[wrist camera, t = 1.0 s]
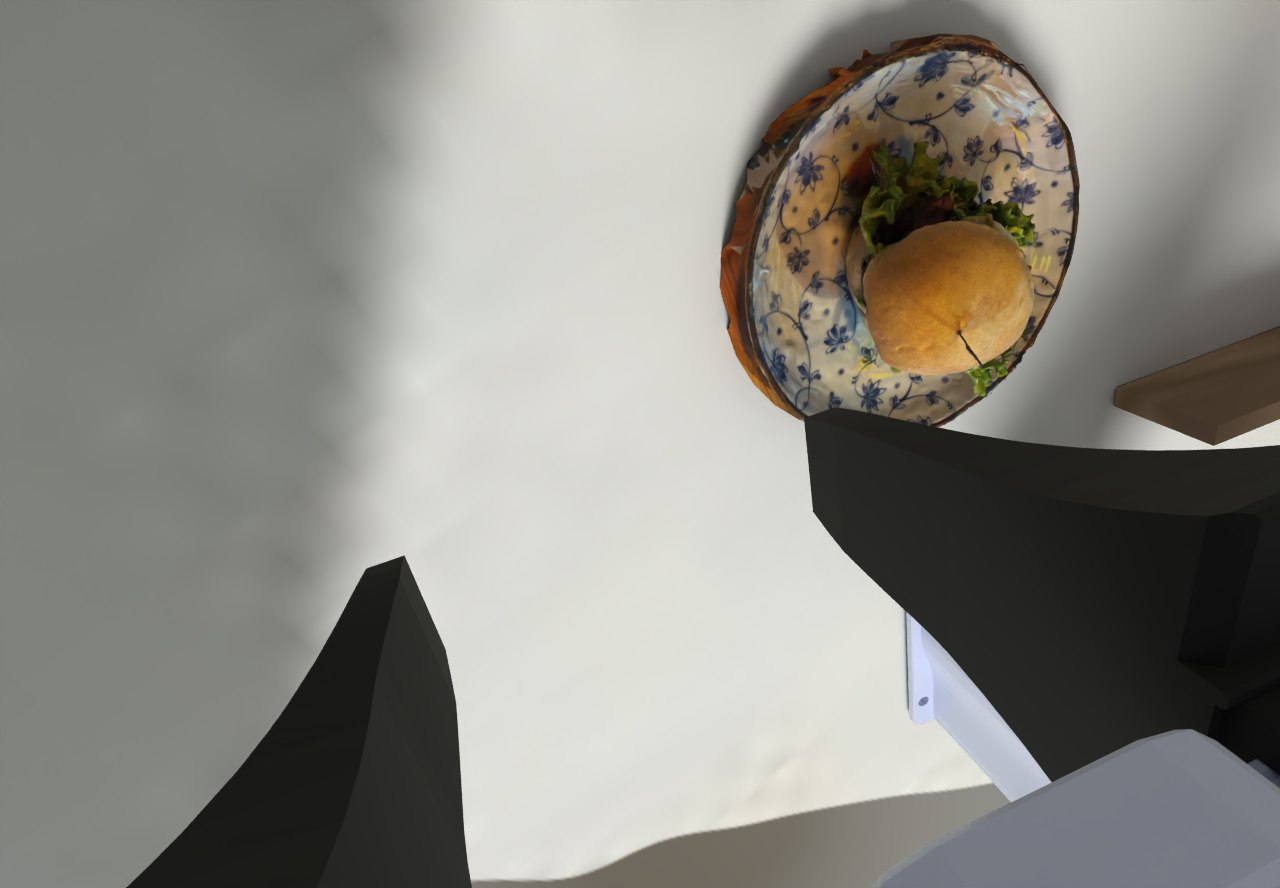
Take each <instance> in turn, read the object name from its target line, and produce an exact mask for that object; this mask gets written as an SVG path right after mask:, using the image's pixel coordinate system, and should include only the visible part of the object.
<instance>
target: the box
mask: <svg viewBox="0 0 1280 888" xmlns="http://www.w3.org/2000/svg"><path fill="white" fill-rule="evenodd" d="M1114 406H1115V407H1118V408H1120V409H1123V410H1125V411H1128V412H1130V413H1133V414H1135V415H1138V416H1140V417H1143V418H1145V419H1148V420H1150V421H1153V422H1155V423H1158V424H1160V425H1163V426H1165V427H1168V428H1170V429H1173V430H1175V431H1178V432H1180V433H1183V434H1185V435H1188V436H1190V437H1193V438H1195V439H1198V440H1200V441H1203V442H1205V443H1208V444H1210V445H1213V446H1214V445H1217V444H1219V443H1222V442H1224V441H1227V440H1229V439H1232V438H1234V437H1237V436H1239V435H1241V434H1244V433H1246V432H1249V431H1251V430H1254V429H1256V428H1259V427H1261V426H1264V425H1266V424H1269V423H1271V422H1274V421H1276V420H1278V419H1280V327H1278V328H1275V329H1272V330H1270V331H1267V332H1264V333H1262V334H1259V335H1256V336H1254V337H1251V338H1248V339H1246V340H1243V341H1240V342H1238V343H1235V344H1232V345H1230V346H1227V347H1224V348H1221V349H1219V350H1216V351H1213V352H1211V353H1208V354H1205V355H1203V356H1200V357H1197V358H1195V359H1192V360H1189V361H1187V362H1184V363H1181V364H1179V365H1176V366H1173V367H1171V368H1168V369H1165V370H1162V371H1160V372H1157V373H1154V374H1152V375H1149V376H1146V377H1144V378H1141V379H1138V380H1136V381H1133V382H1130V383H1128V384H1125V385H1122V386H1120V387H1117V388H1116V391H1115V399H1114Z"/></svg>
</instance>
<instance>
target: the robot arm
mask: <svg viewBox="0 0 1280 888" xmlns="http://www.w3.org/2000/svg"><path fill="white" fill-rule="evenodd" d="M804 422H805V432H806V442H807V453H808V463H809V473H810V484H811V494H812V504H813V512H814V514H815V515H816V516H817V518H818V519H819V520H820V522H821V523H822V524H823V526H824V527H825V528H826V530H827V531H828V532H829V534H830V535H831V536H832V537H833V539H834V540H835V541H836V542H837V544H838V545H839V546H840V547H841V549H842V550H843V551H844V552H845V553H846V554H847V555H848V556H849V557H850V558H851V559H852V560H853V561H854V562H855V563H856V564H857V565H858V566H859V567H860V568H861V569H862V570H863V571H864V572H865V573H866V574H867V575H868V576H869V577H870V578H871V579H872V580H874V581H875V582H876V583H877V584H878V585H879V586H880V587H881V588H882V589H883V590H884V591H885V592H886V593H887V594H888V595H889V596H890V597H891V598H893V599H894V600H895V601H896V602H897V603H898V604H899V605H900V606H901V607H902V608H903V609H904V610H905V611H906V617H907V653H908V689H909V716H910V719H911V720H912V721H913V722H914V723H915V724H916V725H921V724H925V723H927V722H929V721H931V720H933V719H936V720H937V722H938V723H939V724H940V725H941V726H942V727H943V728H944V729H945V730H946V731H947V732H948V734H949V735H950V736H951V737H952V738H953V739H954V740H955V741H956V742H957V743H958V744H959V746H960V747H961V748H962V749H963V750H964V751H965V752H966V753H967V754H968V755H969V756H970V758H971V759H972V760H973V761H974V762H975V763H976V764H977V765H978V766H979V767H980V768H981V770H982V771H983V772H984V773H985V774H986V775H987V776H988V777H989V778H990V779H991V781H992V782H993V783H994V784H995V785H996V786H997V787H998V788H999V789H1000V790H1001V791H1002V793H1003V794H1004V795H1005V796H1006V797H1007V798H1008V799H1009V800H1010V801H1011V803H1009V804H1007V805H1005V806H1003V807H1001V808H999V809H997V810H995V811H993V812H991V813H989V814H987V815H985V816H983V817H981V818H979V819H977V820H974V821H972V822H970V823H969V824H966V825H965V826H962V827H960V828H958V829H956V830H954V831H952V832H950V833H948V834H946V835H944V836H942V837H940V838H938V839H936V840H934V841H932V842H930V843H928V844H926V845H925V846H923V847H922V848H921V849H919V850H918V851H916V852H915V853H913V854H912V855H910V856H909V857H907V858H906V859H904V860H903V861H901V862H900V863H899V864H897V865H896V866H894V867H893V868H891V869H890V870H888V871H887V872H885V873H884V874H883V875H881V876H880V878H879V879H878V880H877V881H876V883H875V884H874V885H873V886H872V888H1280V445H1276V446H1264V447H1253V448H1238V449H1211V450H1165V451H1147V450H1115V449H1092V448H1076V447H1065V446H1055V445H1045V444H1035V443H1026V442H1018V441H1011V440H1004V439H998V438H992V437H986V436H980V435H974V434H968V433H963V432H958V431H953V430H948V429H943V428H938V427H933V426H928V425H924V424H919V423H914V422H910V421H905V420H901V419H896V418H891V417H887V416H882V415H878V414H873V413H868V412H863V411H857V410H852V409H845V408H835V407H834V408H831V409H828V410H825V411H822V412H819V413H817V414H814V415H811V416H808V417H805V418H804ZM126 888H472V886H471V880H470V874H469V868H468V862H467V854H466V844H465V835H464V822H463V805H462V788H461V772H460V755H459V739H458V724H457V710H456V700H455V695H454V690H453V684H452V679H451V674H450V669H449V664H448V660H447V655H446V650H445V647H444V645H443V643H442V640H441V638H440V636H439V634H438V631H437V629H436V627H435V624H434V622H433V620H432V618H431V615H430V613H429V611H428V608H427V606H426V604H425V602H424V599H423V597H422V595H421V592H420V590H419V588H418V586H417V583H416V581H415V579H414V576H413V574H412V572H411V570H410V567H409V565H408V563H407V560H406V558H405V556H402V557H399V558H396V559H393V560H390V561H387V562H384V563H381V564H378V565H375V566H373V567H370V568H367V569H366V570H365V572H364V574H363V575H362V577H361V579H360V581H359V582H358V584H357V586H356V588H355V590H354V592H353V594H352V595H351V597H350V599H349V601H348V603H347V605H346V607H345V609H344V611H343V613H342V614H341V616H340V618H339V620H338V622H337V624H336V626H335V628H334V629H333V631H332V633H331V635H330V636H329V638H328V640H327V642H326V644H325V645H324V647H323V649H322V651H321V652H320V654H319V656H318V658H317V659H316V661H315V663H314V664H313V666H312V667H311V669H310V671H309V672H308V674H307V675H306V677H305V678H304V680H303V682H302V683H301V685H300V686H299V688H298V689H297V691H296V692H295V694H294V696H293V697H292V699H291V700H290V702H289V703H288V705H287V706H286V708H285V709H284V711H283V712H282V713H281V715H280V716H279V718H278V719H277V720H276V722H275V723H274V725H273V726H272V727H271V729H270V730H269V731H268V733H267V734H266V735H265V737H264V738H263V739H262V740H261V742H260V743H259V744H258V746H257V747H256V748H255V749H254V751H253V752H252V753H251V754H250V756H249V757H248V758H247V760H246V761H245V762H244V763H243V765H242V766H241V767H240V768H239V769H238V771H237V772H236V773H235V774H234V775H233V776H232V778H231V779H230V780H229V781H228V782H227V783H226V784H225V785H224V786H223V788H222V789H221V790H220V791H219V792H218V793H217V794H216V795H215V797H214V798H213V799H212V800H211V801H210V802H209V803H208V804H207V805H206V807H205V808H204V809H203V810H202V811H201V812H200V813H199V814H198V816H197V817H196V818H195V819H194V820H193V821H192V822H191V823H190V824H189V826H188V827H187V828H186V829H185V830H184V831H183V832H182V833H181V834H180V835H179V836H178V837H177V838H176V839H175V840H174V841H173V842H172V843H171V844H170V845H169V846H168V847H167V848H166V849H165V850H164V851H163V852H162V853H161V854H160V855H159V856H158V857H157V858H156V859H155V860H154V861H153V862H152V863H151V864H150V865H149V866H148V867H147V868H146V869H145V870H144V871H143V872H142V873H141V874H140V875H139V876H138V877H137V878H136V879H135V880H134V881H133V882H132V883H131V884H130V885H129V886H128V887H126Z"/></svg>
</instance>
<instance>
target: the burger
mask: <svg viewBox="0 0 1280 888" xmlns="http://www.w3.org/2000/svg"><path fill="white" fill-rule="evenodd" d="M829 72H830V74H831V75H832V76H834V77H835V78H836V80H834V81H833V82H831V83H830V84H828V85H827V86H825V87H823V88H820V89H818V90H816V91H814V92H812V93H811V94H809V95H807V96H806V97H804V98H803V99H801V100H800V101H798V102H797V103H795V104H794V105H792V106H791V107H790V108H789V109H787V110H786V111H785V112H784V113H783V114H781V115H780V116H779V117H778V118H777V120H776V121H774V122H773V123H772V124H771V125H770V127H769V130H768V132H767V134H766V136H765V137H764V138H763V139H762V142H763V144H762V146H761V148H760V149H759V150H758V151H757V153H756V154H755V155H754V156H753V157H752V158H751V159H750V160H749V161H748V163H747V182H746V184H745V186H744V189H743V193H742V195H741V196H740V198H739V199H738V201H737V202H736V204H735V205H736V210H737V219H736V222H735V224H734V227H733V232H732V237H731V241H730V242H729V243H728V244H727V245H726V246H725V247H724V249H723V251H722V253H721V265H722V276H721V283H720V289H721V293H722V298H723V301H724V304H725V307H726V309H727V312H728V315H729V317H730V320H731V323H730V325H729V328H730V329H729V328H727V330H728V333H729V336H730V339H731V342H732V344H733V347H734V350H735V353H736V356H737V358H738V359H739V361H740V363H741V364H742V366H743V367H744V369H745V371H746V372H747V374H748V375H749V377H750V379H751V380H752V382H753V383H754V385H755V386H756V387H757V388H758V389H759V390H760V391H761V392H762V393H763V394H764V395H765V396H766V397H767V398H768V399H770V400H771V401H772V403H773V404H774V405H776V406H777V407H779V408H781V409H782V410H784V411H786V412H787V413H789V414H791V415H792V416H794V417H796V418H797V419H799V420H802V421H803V422H804V418H805V417H808V416H811V415H814V414H817V413H819V412H822V411H825V410H828V409H831V408H834V407H835V408H845V409H852V410H857V411H863V412H868V413H873V414H878V415H882V416H887V417H891V418H896V419H901V420H905V421H910V422H914V423H919V424H924V425H928V426H933V427H940V426H942V425H945V424H946V423H948V422H950V421H952V420H954V419H955V418H956V417H957V416H959V415H960V414H962V413H963V412H965V411H966V410H967V409H968V408H970V407H972V406H973V405H974V404H976V403H977V402H979V401H981V400H982V399H983V398H984V397H988V395H989V394H991V393H992V391H993V390H994V388H995V387H996V386H997V385H998V384H999V383H1000V382H1001V381H1002V380H1004V379H1006V377H1007V375H1008V374H1009V373H1010V372H1012V371H1013V369H1015V368H1016V365H1017V364H1019V363H1020V362H1021V361H1022V356H1023V355H1024V354H1025V353H1026V350H1027V349H1028V348H1030V347H1031V346H1032V345H1033V344H1034V342H1035V339H1036V337H1037V335H1038V333H1039V332H1040V330H1041V329H1042V327H1043V325H1044V324H1045V321H1046V319H1047V317H1048V314H1049V312H1050V310H1051V309H1052V307H1053V305H1054V303H1055V301H1056V300H1057V298H1058V295H1059V292H1060V289H1061V286H1062V283H1063V280H1064V277H1065V274H1066V272H1067V269H1068V267H1069V265H1070V261H1071V258H1072V254H1073V249H1074V244H1075V238H1076V232H1077V224H1078V214H1079V188H1080V186H1079V177H1078V170H1077V164H1076V157H1075V151H1074V146H1073V142H1072V137H1071V133H1070V131H1069V129H1068V127H1067V125H1066V124H1065V122H1064V121H1063V120H1062V118H1061V117H1060V115H1059V114H1058V113H1057V111H1056V110H1055V108H1054V107H1053V106H1052V104H1051V103H1050V102H1049V100H1048V99H1047V98H1046V96H1045V95H1044V93H1043V92H1042V90H1041V89H1040V88H1039V86H1038V85H1037V83H1036V82H1035V80H1034V79H1033V78H1032V76H1031V75H1030V73H1029V72H1028V70H1027V69H1026V67H1025V66H1024V65H1022V64H1017V63H1015V62H1014V61H1012V60H1011V59H1010V58H1008V57H1007V56H1006V55H1005V54H1003V53H1002V52H1001V51H999V49H998V47H997V45H996V43H994V42H991V41H989V40H986V39H983V38H980V37H977V36H972V35H952V34H937V35H932V36H926V37H920V38H914V39H907V40H901V41H896V42H891V52H890V53H885V54H875V55H872V54H870V53H869V52H868V51H867V50H864V51H863V57H862V60H856V61H855V62H854V64H853V65H852V66H851V67H850V68H848V69H847V70H846V69H844V68H843V67H842V68H832V69H829Z"/></svg>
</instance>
